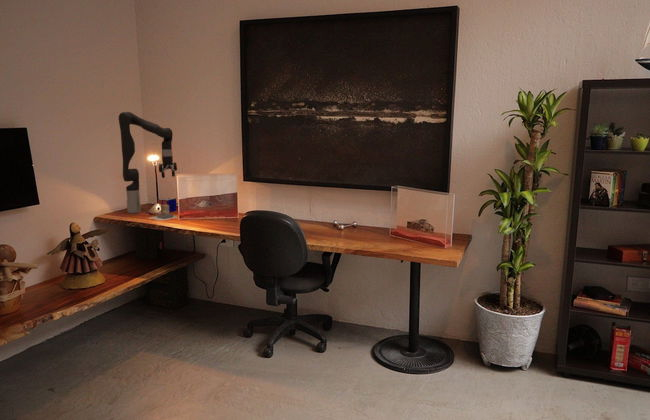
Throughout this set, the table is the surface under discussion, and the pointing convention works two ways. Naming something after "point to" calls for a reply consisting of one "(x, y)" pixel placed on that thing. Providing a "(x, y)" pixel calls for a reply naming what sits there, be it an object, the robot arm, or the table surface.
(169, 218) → the mat
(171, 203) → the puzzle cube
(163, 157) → the robot arm
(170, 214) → the tile
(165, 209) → the block
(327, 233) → the table surface
